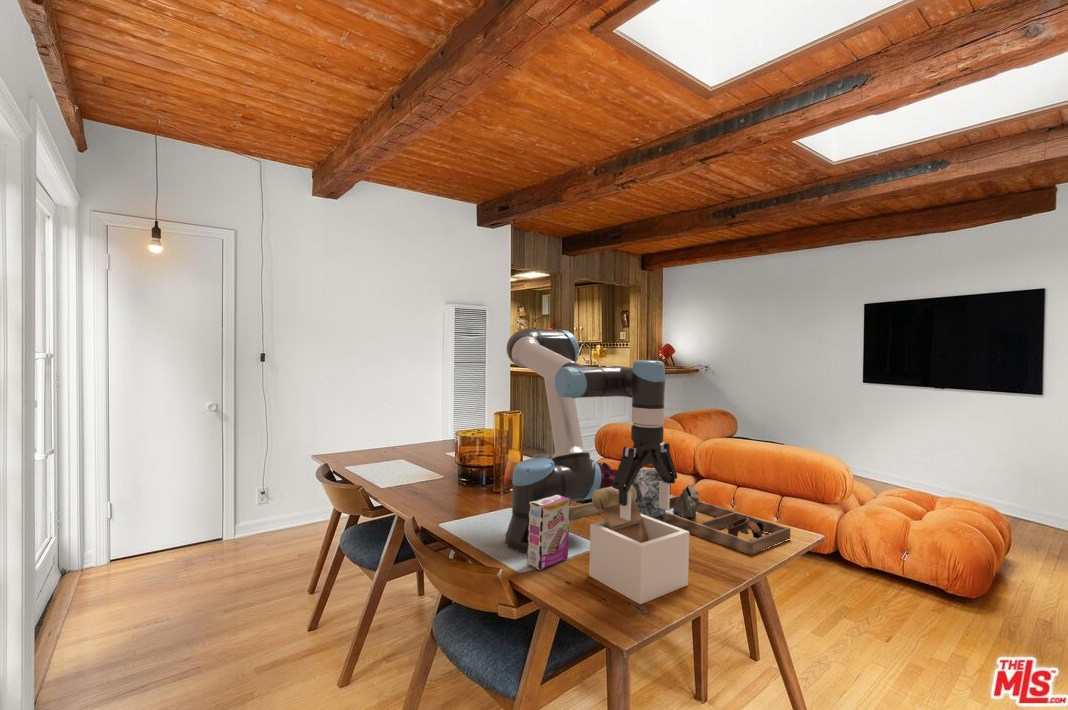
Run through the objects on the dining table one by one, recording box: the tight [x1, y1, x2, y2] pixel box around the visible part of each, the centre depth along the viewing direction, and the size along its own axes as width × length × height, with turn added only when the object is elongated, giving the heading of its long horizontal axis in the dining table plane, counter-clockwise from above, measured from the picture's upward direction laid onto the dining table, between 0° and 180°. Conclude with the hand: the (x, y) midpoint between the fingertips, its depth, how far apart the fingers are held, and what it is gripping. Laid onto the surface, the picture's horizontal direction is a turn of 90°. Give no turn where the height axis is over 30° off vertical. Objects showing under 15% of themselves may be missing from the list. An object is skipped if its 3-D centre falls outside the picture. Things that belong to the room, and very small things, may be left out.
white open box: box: [588, 514, 690, 605], centre depth 122 cm, size 17×17×13 cm
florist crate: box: [569, 502, 604, 521], centre depth 187 cm, size 29×40×4 cm
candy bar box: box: [526, 495, 571, 572], centre depth 131 cm, size 11×5×16 cm, turn 136°
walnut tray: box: [665, 494, 791, 556], centre depth 160 cm, size 40×21×4 cm, turn 36°
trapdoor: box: [592, 485, 649, 543], centre depth 125 cm, size 20×13×5 cm
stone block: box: [632, 467, 666, 522], centre depth 152 cm, size 18×9×20 cm, turn 132°
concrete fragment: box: [672, 484, 700, 520], centre depth 170 cm, size 6×19×11 cm, turn 7°
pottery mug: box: [726, 518, 764, 539], centre depth 148 cm, size 12×10×8 cm
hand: (645, 513), depth 120 cm, fingers open, 13 cm apart
